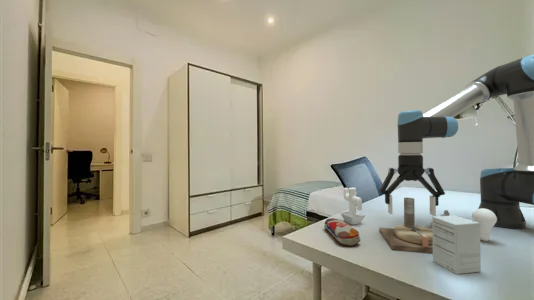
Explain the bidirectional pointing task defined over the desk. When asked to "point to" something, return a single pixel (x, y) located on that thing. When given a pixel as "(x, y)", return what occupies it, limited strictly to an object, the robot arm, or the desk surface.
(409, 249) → the stand
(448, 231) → the supplement box
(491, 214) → the lightbulb
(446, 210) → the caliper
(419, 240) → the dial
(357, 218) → the figurine
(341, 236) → the pencil case
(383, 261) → the desk surface
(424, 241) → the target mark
